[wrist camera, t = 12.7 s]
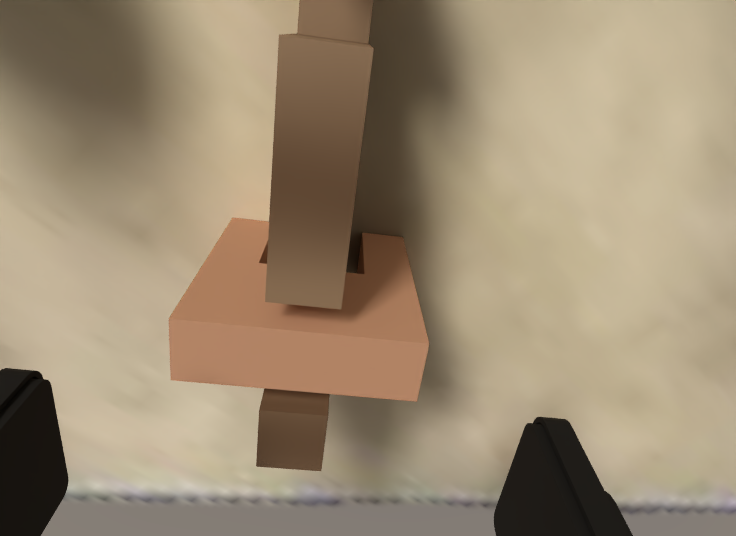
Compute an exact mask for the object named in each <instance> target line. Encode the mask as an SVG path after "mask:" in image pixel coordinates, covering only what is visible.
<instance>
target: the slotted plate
mask: <svg viewBox="0 0 736 536" xmlns="http://www.w3.org/2000/svg"><path fill="white" fill-rule="evenodd" d="M268 236H269V222H266V221H257V220H248V219H239V218H232V219H231V221H230V223H229V224H228V226H227V227H226V229H225V231H224V232H223V234H222V235H221V237H220V238H219V240H218V242H217V243H216V245H215V246H214V248H213V249H212V251H211V253H210V254H209V256H208V257H207V259H206V261H205V262H204V264H203V265H202V267H201V268H200V270H199V272H198V273H197V275H196V276H195V278H194V279H193V281H192V283H191V284H190V286H189V287H188V289H187V291H186V292H185V294H184V295H183V297H182V298H181V300H180V302H179V303H178V305H177V306H176V308H175V309H174V311H173V313H172V314H171V316H170V317H169V341H170V370H171V380H176V381H187V382H199V383H210V384H221V385H233V386H244V387H256V388H267V389H279V390H290V391H302V392H313V393H324V394H336V395H347V396H359V397H370V398H382V399H393V400H405V401H416V402H417V399H418V394H419V389H420V385H421V380H422V376H423V371H424V366H425V362H426V357H427V352H428V348H429V340H428V336H427V332H426V328H425V324H424V320H423V316H422V312H421V308H420V304H419V300H418V296H417V292H416V288H415V284H414V280H413V276H412V272H411V268H410V264H409V260H408V256H407V252H406V248H405V244H404V240H403V237H397V236H389V235H380V234H371V233H362V239H361V246H360V253H359V261H358V268H357V273H348V272H346V275H345V284H344V292H343V300H342V308H341V309H331V308H321V307H311V306H301V305H291V304H281V303H271V302H265V293H266V274H267V255H268Z"/></svg>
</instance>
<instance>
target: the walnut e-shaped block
mask: <svg viewBox="0 0 736 536" xmlns="http://www.w3.org/2000/svg"><path fill="white" fill-rule="evenodd" d="M372 8H373V0H300V3H299V18H298V33H297V34H285V35H279V48H278V66H277V85H276V104H275V123H274V142H273V161H272V180H271V198H270V217H269V236H268V255H267V274H266V293H265V302H271V303H281V304H291V305H301V306H311V307H321V308H331V309H341V308H342V300H343V292H344V284H345V275H346V267H347V259H348V251H349V243H350V235H351V227H352V219H353V211H354V203H355V195H356V187H357V179H358V171H359V163H360V155H361V147H362V139H363V131H364V123H365V115H366V107H367V99H368V91H369V83H370V75H371V67H372V59H373V51H374V48H373V47H372V46H370V45H369V44H368V41H369V33H370V25H371V16H372ZM328 408H329V394H324V393H313V392H302V391H290V390H279V389H267V388H265V389H264V393H263V397H262V401H261V405H260V409H259V425H258V444H257V462H256V466H257V467H271V468H285V469H298V470H312V471H321V468H322V460H323V452H324V444H325V436H326V428H327V420H328Z"/></svg>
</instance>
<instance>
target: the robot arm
mask: <svg viewBox="0 0 736 536" xmlns="http://www.w3.org/2000/svg"><path fill="white" fill-rule="evenodd" d="M67 486H68V473H67V468H66V463H65V457H64V452H63V446H62V441H61V436H60V430H59V425H58V420H57V414H56V409H55V404H54V398H53V393H52V387H51V384H50V382H49V381H48V380H44V379H43V377H42V374H41V373H40V372H38V371H32V370H21V369H10V368H5V369H2V370H1V371H0V536H41V534H42V532H43V531H44V529H45V527H46V526H47V524H48V522H49V521H50V519H51V517H52V516H53V514H54V513H55V511H56V509H57V507H58V506H59V504H60V503H61V501H62V499H63V497H64V495H65V493H66V490H67ZM494 527H495V532H496V536H633V535H632V533H631V531H630V529H629V527H628V525H627V524H626V522H625V520H624V518H623V516H622V514H621V512H620V510H619V508H618V506H617V504H616V503H615V501H614V500H613V498H612V497H611V495H610V494H608V493H607V492H606V491H604V489H603V487H602V485H601V483H600V481H599V479H598V477H597V475H596V473H595V471H594V469H593V467H592V465H591V463H590V461H589V459H588V458H587V456H586V454H585V452H584V450H583V448H582V446H581V444H580V442H579V440H578V438H577V436H576V434H575V432H574V430H573V428H572V426H571V424H570V423H569V421H567V420H566V419H557V418H546V417H537V418H536V419H535V420H534V422H533V424H532V423H528V424H527V425H526V426H525V428H524V431H523V434H522V437H521V439H520V442H519V445H518V448H517V450H516V453H515V456H514V459H513V462H512V464H511V467H510V470H509V473H508V476H507V478H506V481H505V484H504V487H503V490H502V492H501V495H500V498H499V501H498V504H497V506H496V509H495V513H494Z"/></svg>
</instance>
